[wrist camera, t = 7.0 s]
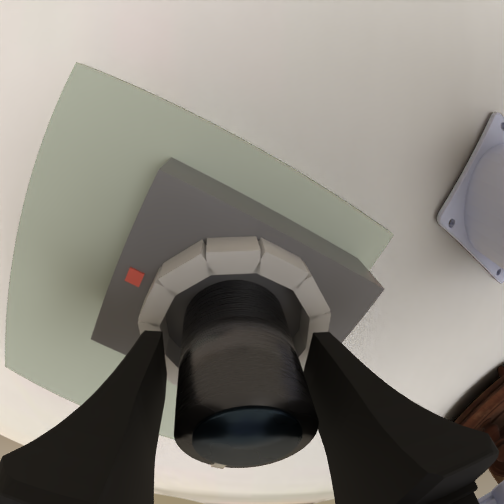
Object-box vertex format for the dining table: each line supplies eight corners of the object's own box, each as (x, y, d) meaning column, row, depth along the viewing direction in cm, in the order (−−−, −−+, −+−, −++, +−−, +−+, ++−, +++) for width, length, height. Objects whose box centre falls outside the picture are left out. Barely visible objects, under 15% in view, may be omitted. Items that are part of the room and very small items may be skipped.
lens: (302, 303, 13) (349, 414, 8) (252, 370, 14) (270, 478, 9) (211, 262, 11) (212, 379, 6) (168, 340, 13) (154, 456, 8)
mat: (389, 231, 16) (393, 234, 15) (214, 444, 22) (214, 449, 21) (80, 63, 11) (76, 62, 10) (7, 362, 17) (5, 366, 16)
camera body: (358, 258, 16) (397, 304, 12) (273, 368, 18) (286, 425, 14) (171, 157, 13) (151, 176, 9) (107, 302, 15) (82, 357, 11)
